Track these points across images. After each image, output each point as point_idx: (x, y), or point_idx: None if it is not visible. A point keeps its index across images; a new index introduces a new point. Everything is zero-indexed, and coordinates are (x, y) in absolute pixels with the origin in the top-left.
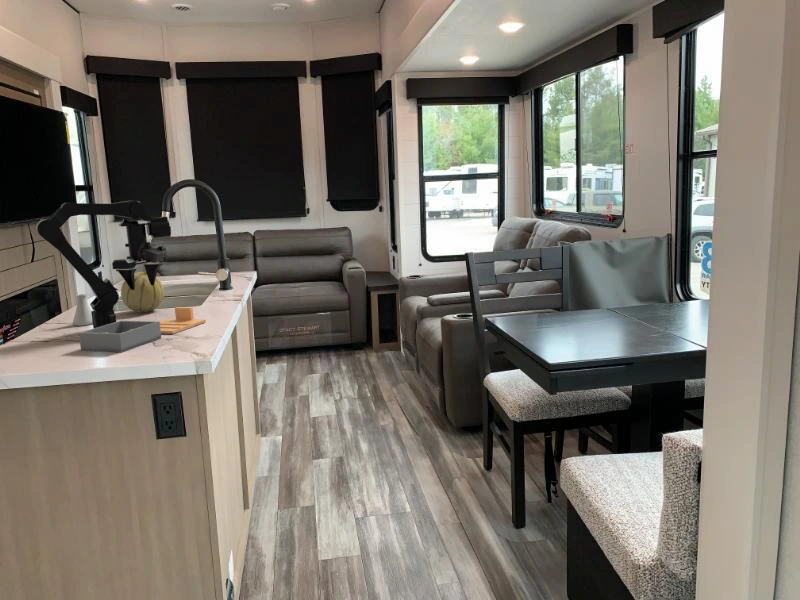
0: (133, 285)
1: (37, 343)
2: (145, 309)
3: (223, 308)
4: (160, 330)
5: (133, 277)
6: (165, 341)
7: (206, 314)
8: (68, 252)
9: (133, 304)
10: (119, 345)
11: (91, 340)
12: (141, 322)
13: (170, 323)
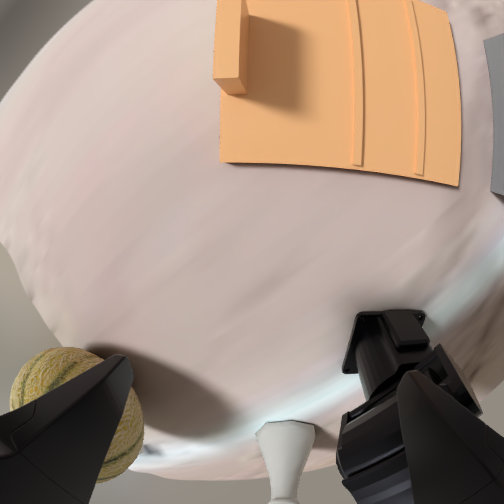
0: (444, 392)
1: (483, 374)
2: None
3: (8, 128)
4: (498, 35)
5: (488, 449)
6: (496, 22)
7: (76, 99)
8: None
9: (138, 406)
10: None
11: None
12: None
13: (333, 72)
